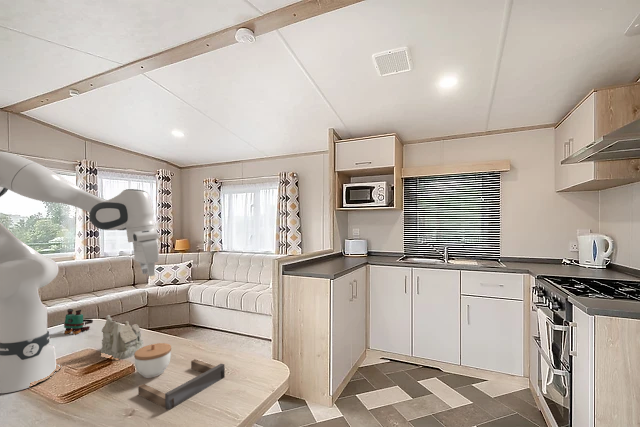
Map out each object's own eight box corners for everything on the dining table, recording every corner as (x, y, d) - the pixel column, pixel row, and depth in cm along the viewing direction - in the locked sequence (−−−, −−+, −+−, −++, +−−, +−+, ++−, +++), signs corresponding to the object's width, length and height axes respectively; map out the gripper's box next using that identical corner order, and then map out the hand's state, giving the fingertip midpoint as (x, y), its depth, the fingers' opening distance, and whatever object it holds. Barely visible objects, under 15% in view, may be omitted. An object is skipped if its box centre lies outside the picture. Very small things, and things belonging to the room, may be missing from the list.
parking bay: (138, 394, 88) (138, 381, 88) (195, 366, 104) (194, 354, 104) (168, 410, 80) (168, 394, 80) (224, 377, 97) (224, 364, 97)
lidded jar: (155, 383, 94) (155, 352, 94) (126, 380, 96) (126, 350, 96) (178, 366, 104) (178, 339, 105) (151, 364, 107) (151, 337, 107)
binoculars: (97, 306, 146) (77, 310, 136) (95, 329, 145) (75, 335, 135) (81, 306, 147) (60, 310, 138) (79, 328, 146) (58, 334, 136)
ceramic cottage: (114, 362, 108) (116, 319, 109) (92, 355, 116) (93, 314, 117) (156, 348, 121) (157, 310, 123) (133, 342, 130) (135, 306, 131)
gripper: (126, 237, 111) (132, 275, 111) (137, 236, 95) (144, 279, 95) (146, 234, 115) (151, 270, 115) (159, 233, 99) (166, 274, 100)
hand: (148, 274), depth 105 cm, fingers open, 8 cm apart
